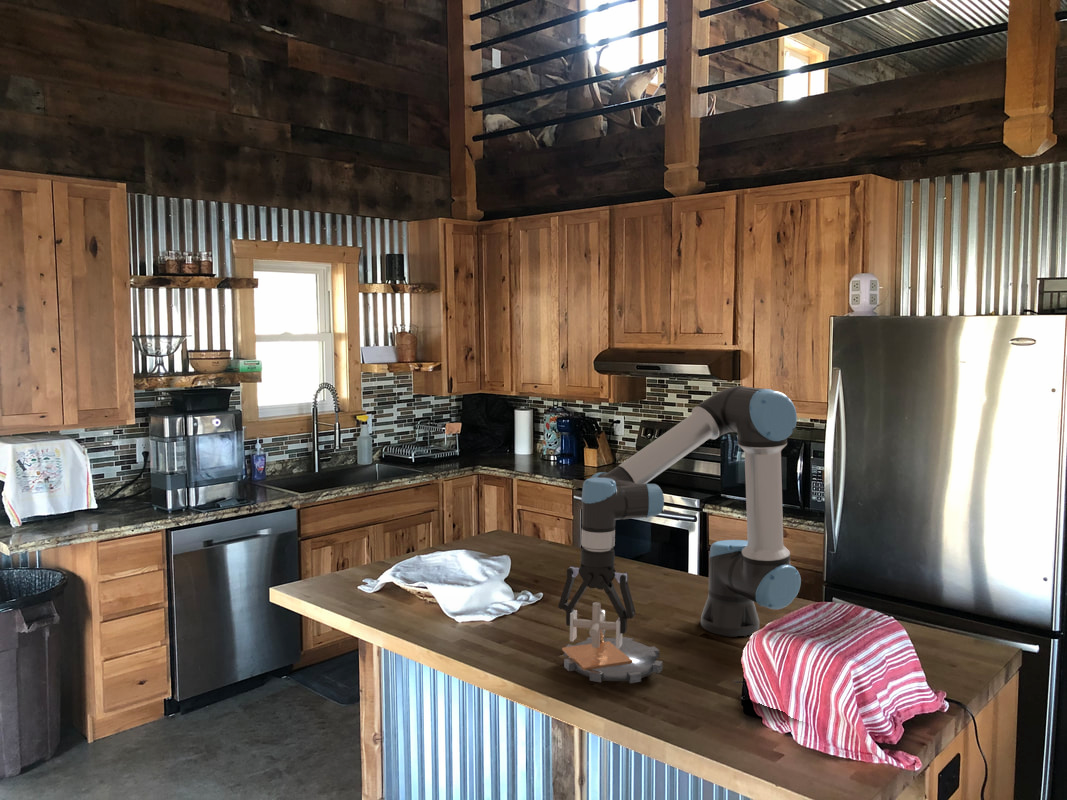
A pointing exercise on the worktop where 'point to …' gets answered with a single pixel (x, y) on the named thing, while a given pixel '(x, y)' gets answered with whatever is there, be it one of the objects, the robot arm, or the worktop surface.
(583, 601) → the worktop surface
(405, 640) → the worktop surface
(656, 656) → the sprocket
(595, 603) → the pipe connector
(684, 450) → the robot arm
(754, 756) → the worktop surface
